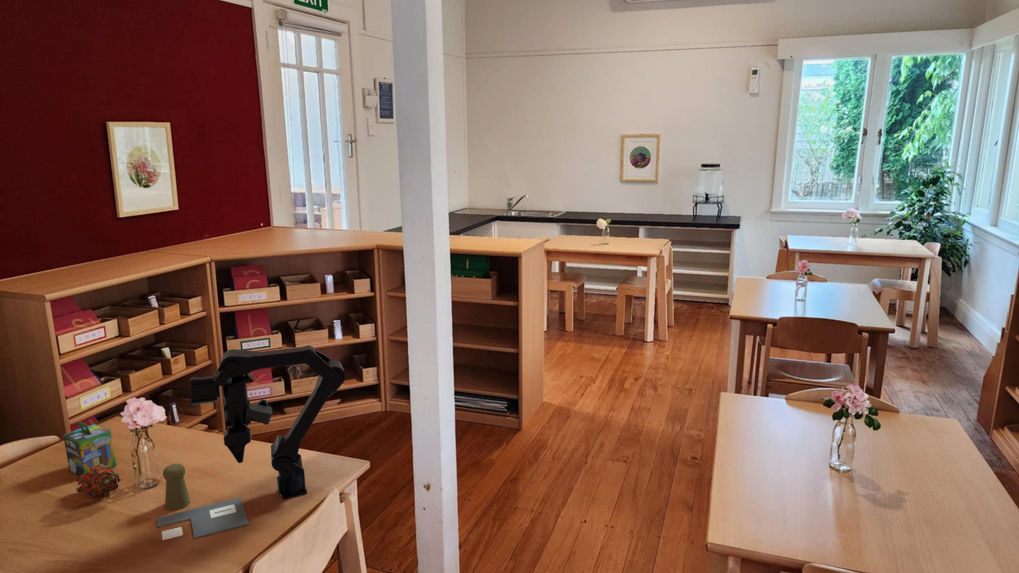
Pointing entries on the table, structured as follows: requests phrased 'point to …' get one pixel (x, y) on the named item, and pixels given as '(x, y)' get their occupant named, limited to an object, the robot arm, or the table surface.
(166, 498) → the olive green pawn
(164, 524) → the label panel
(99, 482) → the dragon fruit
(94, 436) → the chalk box
